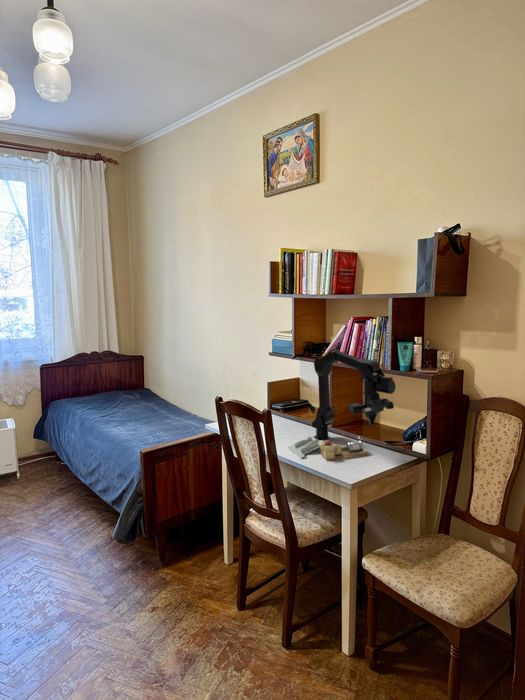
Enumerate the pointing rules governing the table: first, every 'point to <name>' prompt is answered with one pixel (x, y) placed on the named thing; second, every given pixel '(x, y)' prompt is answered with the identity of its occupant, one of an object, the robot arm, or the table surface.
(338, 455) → the wooden channel tray
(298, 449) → the metal bracket
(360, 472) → the table surface
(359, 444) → the cylinder
